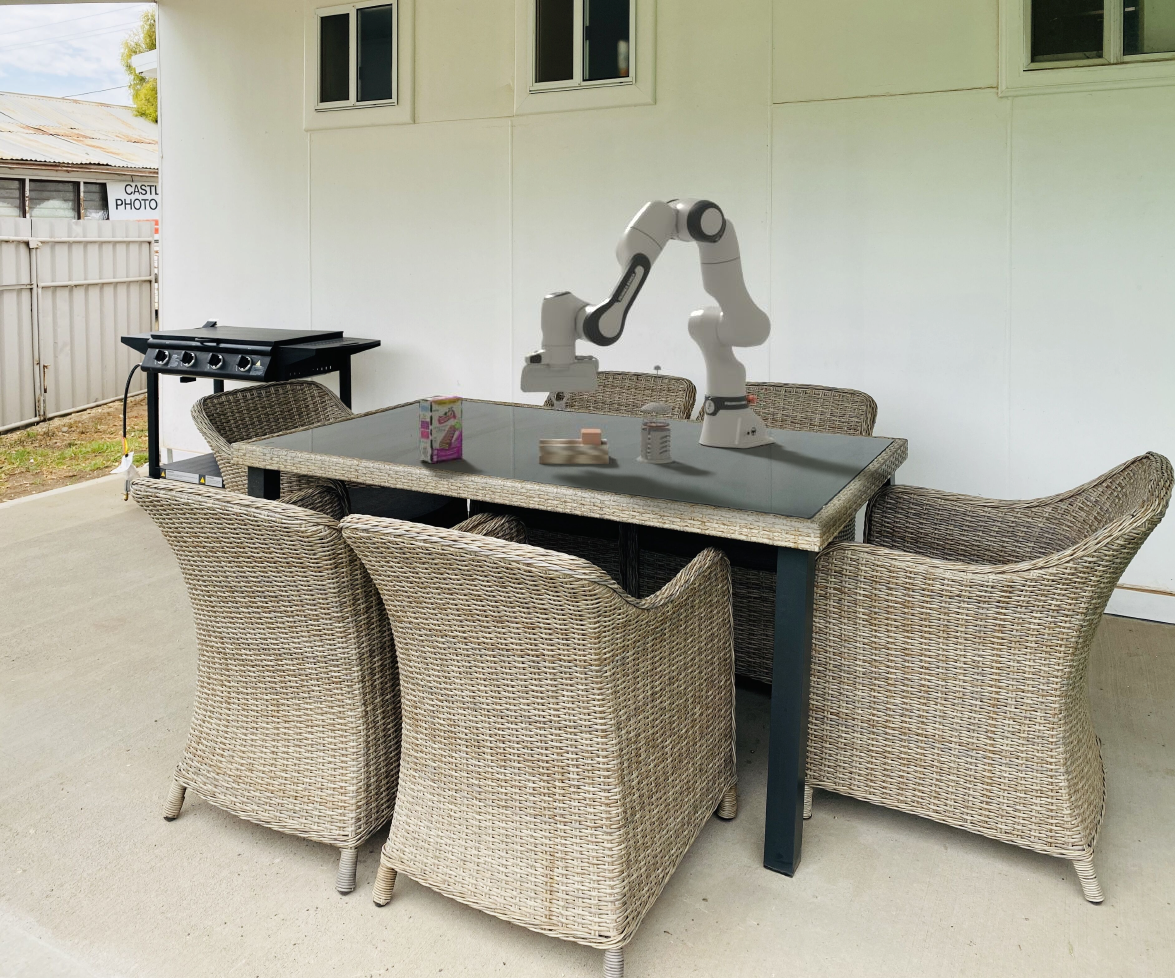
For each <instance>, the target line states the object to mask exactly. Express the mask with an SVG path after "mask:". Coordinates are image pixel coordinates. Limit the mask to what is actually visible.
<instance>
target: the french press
mask: <svg viewBox="0 0 1175 978" xmlns="http://www.w3.org/2000/svg"><path fill="white" fill-rule="evenodd" d="M653 370H655V371H656V384H659V383H658V375H659V371H661V370H662V367H661V366H660V365H658V364H656V365H654V367H653ZM655 391H656V393H655V394H656V395H655V397H656V399H655V401H654V402H650V403H647V404H645V405H643V406H642V407H641V408H640V409H641V411H642V412H645V413H646V412H647V413H655V421H653V419H654V417H653V415H651V416H650V417H649V419H648V415H647V414H646V415H645V416H644V417H643V418H642V423H641V426H640V427H641V428H640V435H641V436H640V456H638V457H637V458H636V460H637V462H640V463H645V464H669V463H673V462H674V459H673V458H672V457H671V453H670V452H671V437H672V436H671V434H672V433H671V431H672V430H671V428H668V427H669V426H670V423H669V422H666V421H658V420H657V418H658V417H657V416H658V415H657V414H658V413H665V412H666V413H667V412H671V411H672V410H673V408H672V407H671V406H669V405H668V404H666V403H663V402H658V389H656V390H655ZM644 420H646V421H644ZM643 426H644V427H643ZM649 436H650V437H649Z"/></svg>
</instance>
